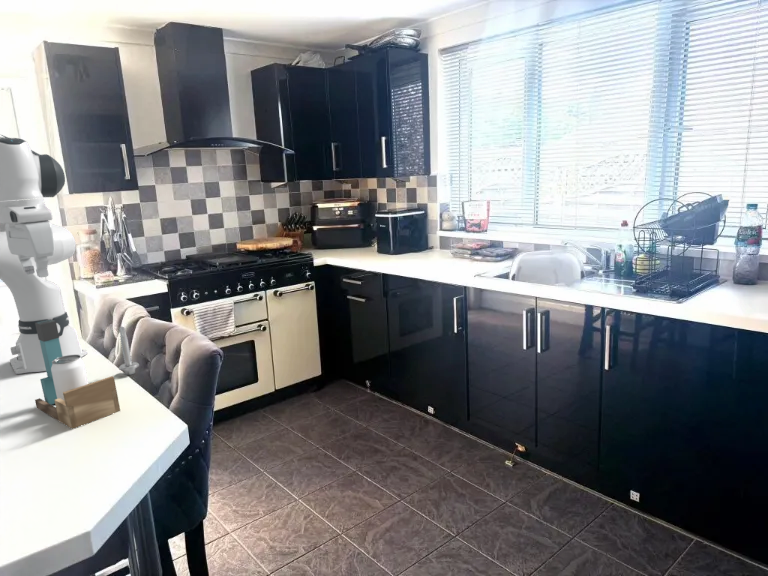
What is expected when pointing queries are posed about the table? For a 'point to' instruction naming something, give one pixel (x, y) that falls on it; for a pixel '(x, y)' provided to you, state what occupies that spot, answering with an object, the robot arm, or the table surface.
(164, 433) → the table surface
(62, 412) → the wooden box
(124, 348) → the screw
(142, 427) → the table surface
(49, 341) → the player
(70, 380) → the can
